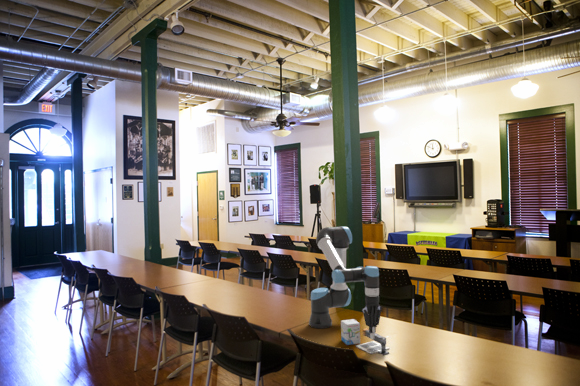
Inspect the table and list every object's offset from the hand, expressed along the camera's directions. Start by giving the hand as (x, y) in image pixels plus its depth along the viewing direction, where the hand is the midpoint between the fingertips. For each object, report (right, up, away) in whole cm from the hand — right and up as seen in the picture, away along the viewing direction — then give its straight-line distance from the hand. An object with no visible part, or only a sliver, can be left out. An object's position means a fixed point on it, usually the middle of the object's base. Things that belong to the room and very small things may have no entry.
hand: (372, 338), depth 211 cm
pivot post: (+5, -6, -6) cm, 9 cm away
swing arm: (+1, -1, +1) cm, 2 cm away
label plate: (0, -6, +2) cm, 6 cm away
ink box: (-10, -7, +13) cm, 17 cm away
